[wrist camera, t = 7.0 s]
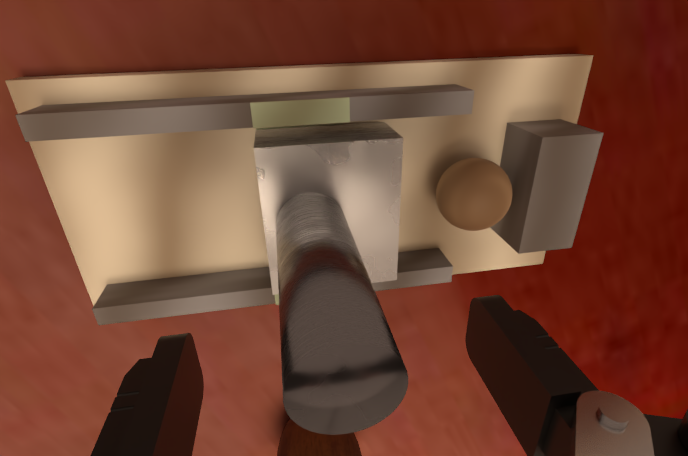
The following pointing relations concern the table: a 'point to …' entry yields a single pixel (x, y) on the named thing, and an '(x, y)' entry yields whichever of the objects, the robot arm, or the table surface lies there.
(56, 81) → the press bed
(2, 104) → the table surface
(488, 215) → the walnut
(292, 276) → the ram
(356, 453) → the wooden figurine
